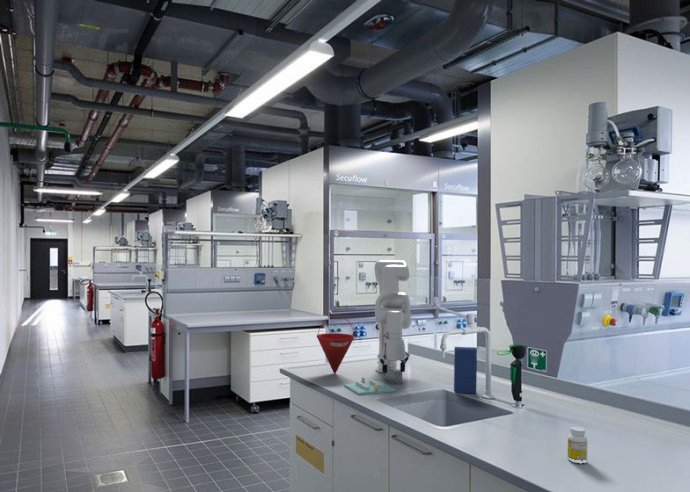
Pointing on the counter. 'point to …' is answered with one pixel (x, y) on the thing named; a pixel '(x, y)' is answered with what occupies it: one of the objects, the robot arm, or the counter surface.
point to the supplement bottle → (577, 444)
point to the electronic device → (465, 370)
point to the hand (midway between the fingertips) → (393, 372)
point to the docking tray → (368, 387)
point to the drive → (393, 375)
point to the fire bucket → (335, 346)
